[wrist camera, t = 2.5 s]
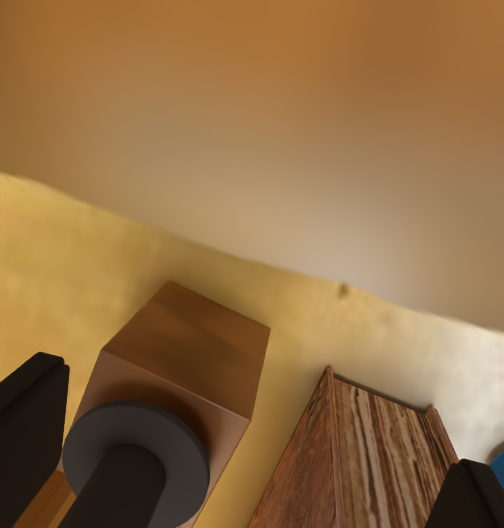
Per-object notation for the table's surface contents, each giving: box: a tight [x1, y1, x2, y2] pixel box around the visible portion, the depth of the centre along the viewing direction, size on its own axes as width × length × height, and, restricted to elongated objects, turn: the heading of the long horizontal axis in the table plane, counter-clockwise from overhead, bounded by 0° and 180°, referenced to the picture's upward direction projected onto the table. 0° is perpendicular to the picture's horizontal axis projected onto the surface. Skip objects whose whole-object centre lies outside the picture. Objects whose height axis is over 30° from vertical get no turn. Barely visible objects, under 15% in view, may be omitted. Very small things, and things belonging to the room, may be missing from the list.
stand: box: [56, 281, 271, 528], centre depth 31 cm, size 9×9×12 cm
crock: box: [12, 469, 77, 528], centre depth 39 cm, size 7×7×9 cm
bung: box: [57, 400, 210, 528], centre depth 22 cm, size 8×8×8 cm
